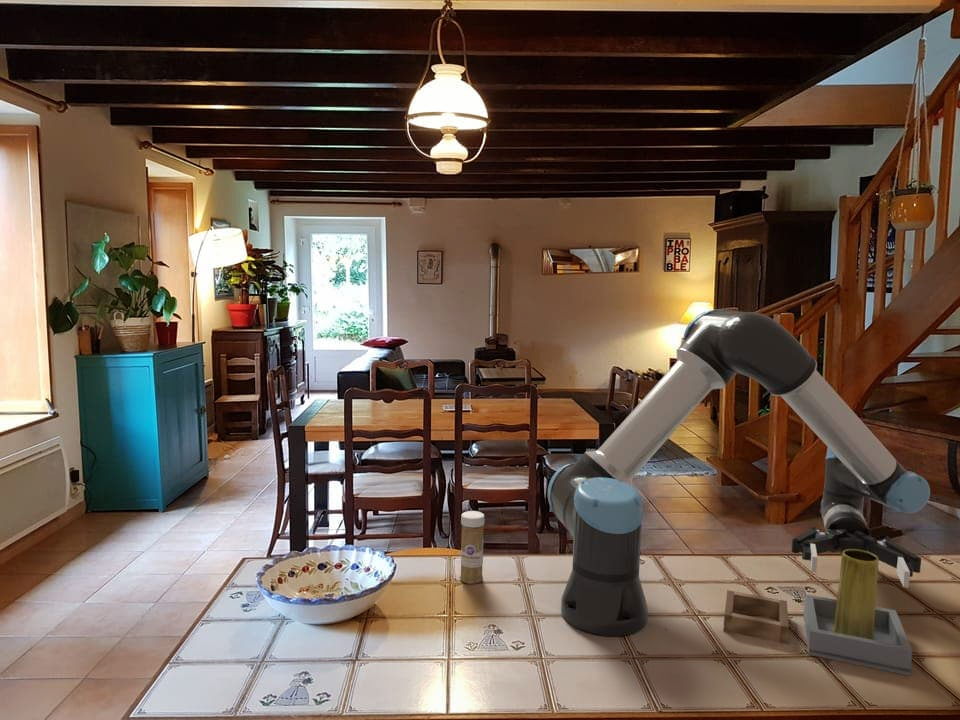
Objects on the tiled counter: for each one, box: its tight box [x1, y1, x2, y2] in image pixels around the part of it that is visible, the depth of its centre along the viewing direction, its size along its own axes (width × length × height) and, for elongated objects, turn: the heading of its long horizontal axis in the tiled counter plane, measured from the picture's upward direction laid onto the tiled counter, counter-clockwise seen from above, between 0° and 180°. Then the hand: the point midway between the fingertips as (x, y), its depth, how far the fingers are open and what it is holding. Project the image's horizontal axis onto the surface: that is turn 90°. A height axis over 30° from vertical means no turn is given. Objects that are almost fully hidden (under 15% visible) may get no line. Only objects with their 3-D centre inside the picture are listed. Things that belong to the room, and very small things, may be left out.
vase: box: [833, 549, 879, 640], centre depth 110 cm, size 6×6×14 cm
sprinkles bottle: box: [459, 510, 485, 585], centre depth 131 cm, size 5×5×14 cm
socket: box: [723, 589, 790, 645], centre depth 117 cm, size 10×10×3 cm
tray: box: [803, 593, 913, 676], centre depth 111 cm, size 14×14×4 cm
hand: (859, 572), depth 112 cm, fingers open, 13 cm apart
